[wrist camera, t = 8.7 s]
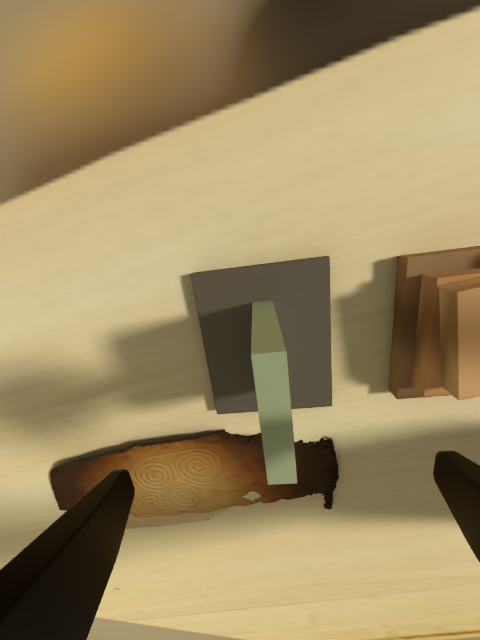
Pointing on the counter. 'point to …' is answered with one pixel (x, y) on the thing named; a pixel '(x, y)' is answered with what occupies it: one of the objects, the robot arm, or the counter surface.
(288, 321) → the mat
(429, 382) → the offcut lower
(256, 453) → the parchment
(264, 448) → the block
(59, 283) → the counter surface
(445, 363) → the offcut upper
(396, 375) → the rack
